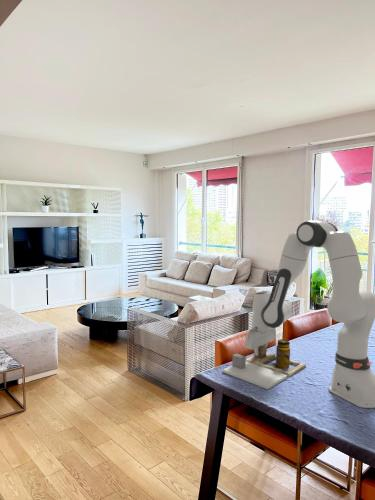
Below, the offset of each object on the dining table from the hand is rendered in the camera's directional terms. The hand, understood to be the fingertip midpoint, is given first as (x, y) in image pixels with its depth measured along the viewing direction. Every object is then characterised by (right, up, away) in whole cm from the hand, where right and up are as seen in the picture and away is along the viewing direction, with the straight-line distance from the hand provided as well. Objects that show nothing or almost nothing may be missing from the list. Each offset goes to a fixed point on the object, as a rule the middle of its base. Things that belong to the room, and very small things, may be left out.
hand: (260, 353), depth 181 cm
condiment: (+8, -4, -7) cm, 11 cm away
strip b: (-6, -4, -18) cm, 19 cm away
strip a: (+6, -3, -5) cm, 9 cm away
